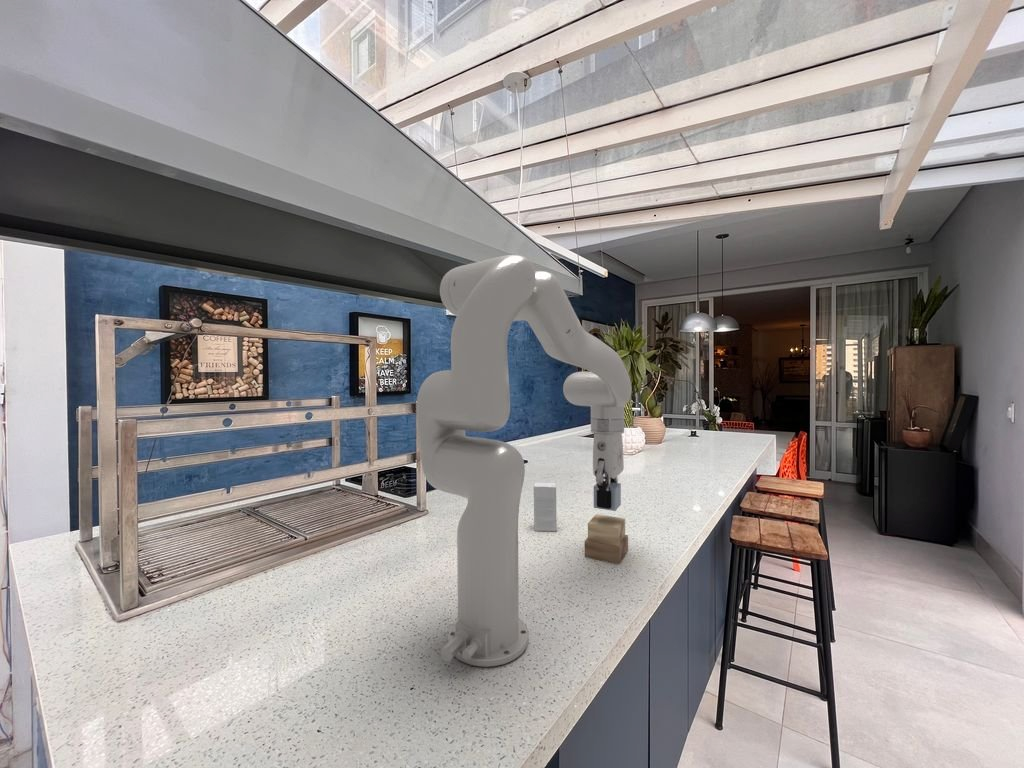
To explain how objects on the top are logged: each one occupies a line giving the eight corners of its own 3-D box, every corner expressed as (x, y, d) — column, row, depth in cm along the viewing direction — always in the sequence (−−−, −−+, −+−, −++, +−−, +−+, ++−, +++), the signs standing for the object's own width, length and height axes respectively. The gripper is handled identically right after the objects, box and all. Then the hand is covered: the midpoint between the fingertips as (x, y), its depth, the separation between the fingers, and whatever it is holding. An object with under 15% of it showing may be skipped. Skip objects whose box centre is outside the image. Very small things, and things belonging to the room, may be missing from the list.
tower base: (619, 565, 92) (619, 547, 92) (584, 558, 96) (584, 540, 96) (628, 552, 100) (628, 535, 99) (594, 545, 103) (595, 529, 103)
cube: (615, 511, 94) (615, 488, 94) (593, 507, 97) (593, 486, 97) (620, 504, 99) (620, 483, 99) (599, 501, 101) (599, 481, 101)
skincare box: (556, 526, 116) (556, 482, 115) (556, 532, 111) (556, 486, 111) (534, 525, 116) (534, 482, 116) (533, 531, 112) (533, 486, 112)
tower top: (618, 546, 93) (618, 528, 93) (587, 540, 96) (587, 523, 96) (625, 535, 99) (625, 518, 99) (595, 530, 103) (596, 514, 102)
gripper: (614, 431, 88) (614, 518, 88) (631, 422, 103) (631, 496, 104) (579, 429, 91) (579, 512, 92) (601, 420, 106) (601, 492, 107)
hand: (607, 503), depth 98 cm, fingers closed on cube, 5 cm apart
